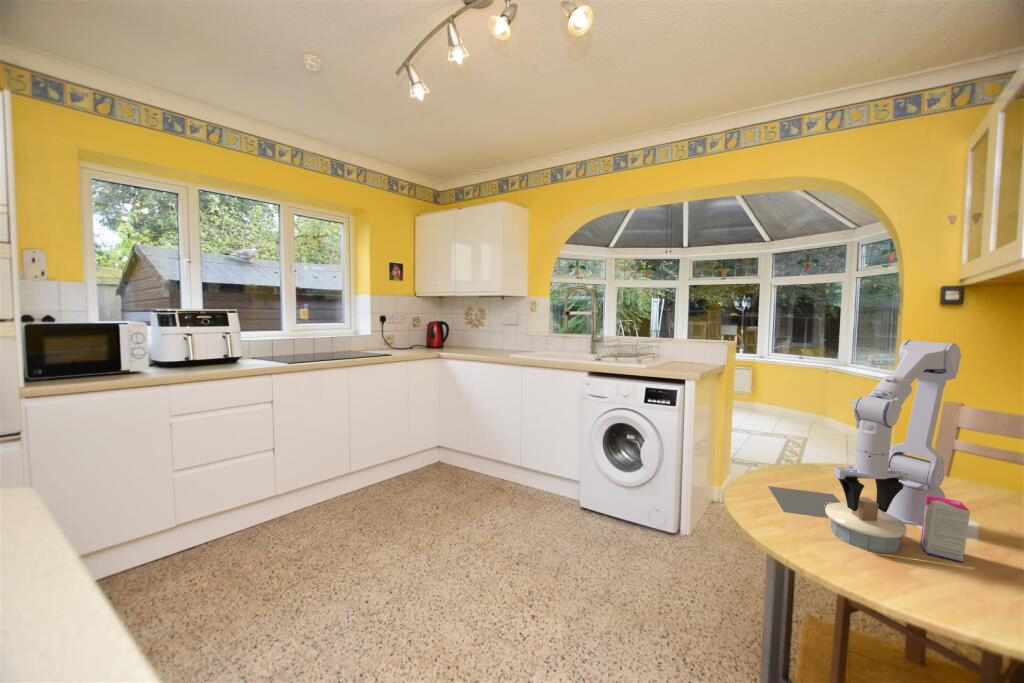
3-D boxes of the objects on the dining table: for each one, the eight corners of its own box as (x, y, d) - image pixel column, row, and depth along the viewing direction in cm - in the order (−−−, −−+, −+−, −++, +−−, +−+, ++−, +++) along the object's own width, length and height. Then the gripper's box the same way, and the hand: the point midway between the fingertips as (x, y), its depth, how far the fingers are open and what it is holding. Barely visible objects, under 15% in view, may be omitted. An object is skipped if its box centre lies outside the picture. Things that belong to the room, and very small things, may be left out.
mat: (833, 495, 123) (833, 494, 123) (858, 523, 107) (858, 521, 107) (767, 487, 127) (768, 486, 127) (783, 512, 112) (783, 511, 112)
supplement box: (964, 564, 91) (971, 511, 90) (925, 555, 94) (931, 503, 93) (955, 551, 96) (961, 500, 95) (919, 542, 99) (924, 493, 98)
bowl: (882, 530, 104) (884, 513, 104) (911, 558, 93) (913, 540, 93) (823, 521, 108) (824, 505, 108) (843, 548, 97) (845, 530, 96)
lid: (872, 506, 107) (874, 487, 107) (924, 539, 93) (927, 517, 93) (811, 504, 108) (812, 485, 108) (853, 536, 94) (856, 514, 93)
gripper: (891, 445, 102) (886, 502, 103) (827, 443, 103) (822, 500, 104) (918, 456, 95) (911, 517, 96) (848, 454, 96) (843, 515, 97)
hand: (866, 509), depth 100 cm, fingers open, 6 cm apart
